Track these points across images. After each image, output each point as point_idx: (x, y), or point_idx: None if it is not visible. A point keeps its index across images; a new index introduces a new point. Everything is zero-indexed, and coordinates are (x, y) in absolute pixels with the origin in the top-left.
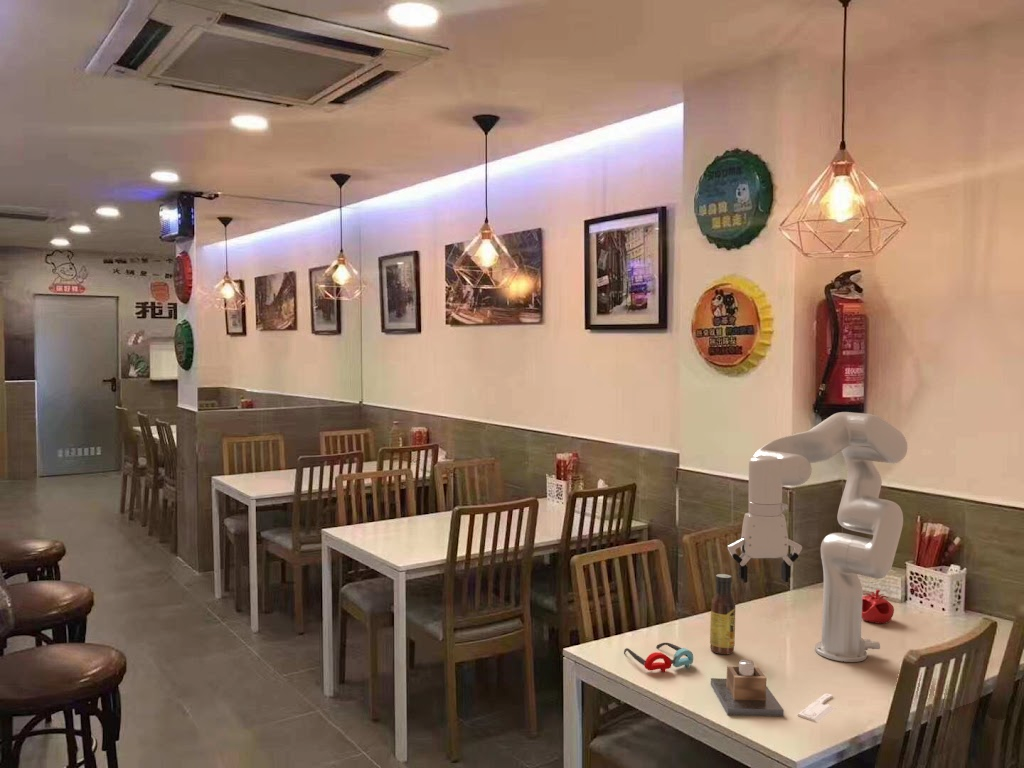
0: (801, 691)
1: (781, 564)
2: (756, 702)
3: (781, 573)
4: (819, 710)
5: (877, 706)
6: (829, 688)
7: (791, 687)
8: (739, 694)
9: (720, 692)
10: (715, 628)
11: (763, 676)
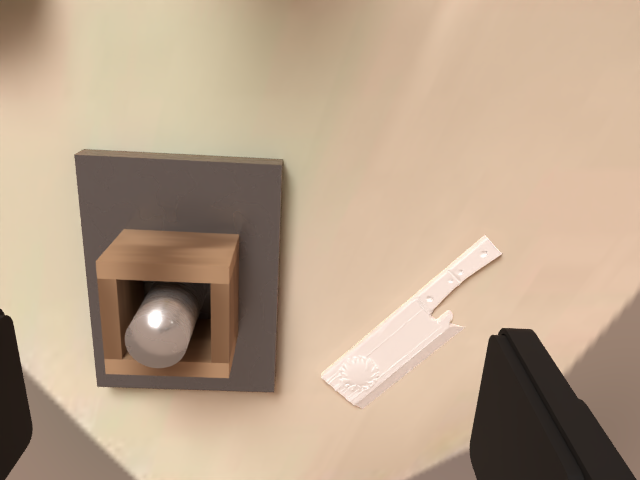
0: (414, 204)
1: (561, 461)
2: None
3: (508, 373)
4: (399, 356)
5: (608, 311)
6: (532, 178)
7: (392, 171)
8: None
9: (92, 279)
10: None
11: (221, 364)
